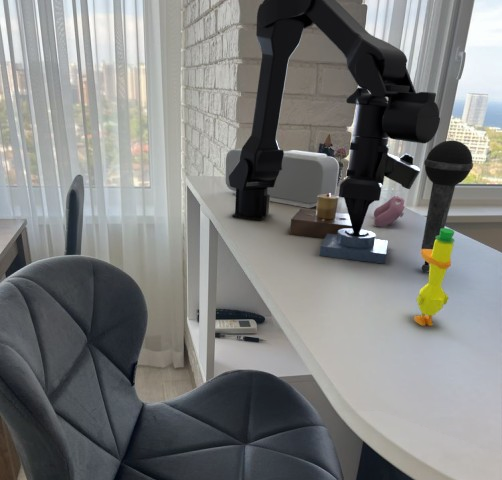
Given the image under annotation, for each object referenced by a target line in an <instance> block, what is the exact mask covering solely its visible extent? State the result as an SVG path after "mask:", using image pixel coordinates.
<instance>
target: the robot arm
mask: <svg viewBox="0 0 502 480" xmlns="http://www.w3.org/2000/svg"><path fill="white" fill-rule="evenodd" d="M256 14H257V15H256V29H255V30H256V32H255V33H256V35H255V36H256V40H257V42H258V46H259V48H260V50H261V61H260V67H259V75H258V83H257V89H256V91H257V92H256V97H255V105H254V111H253V118H252V119H253V120H252V127H251V134H250V136H249V137H248V139H247V140H246V142H245V143H244V145H242V147H241V148H242V150H241V154H240V158H239V163H238V164H237V165H236V167H235V168H234V170H233V171H232V172H231V174H230V175H229V183H230V187H233V188H236V195H235V200H234V201H235V202H234V203H235V206H234V213H232V217H233V218H238V219H248V220H256V221H262V220H264V219H265V217H267V216H268V215H269V213H270V212H269V211H270V210H269V209H270V201H269V198H270V196H269V195H268V194H267V190H268V187H271V188H272V187H274V185H275V181H276V178H277V176H278V174H279V171H280V170H282V159H283V156H284V151H285V150H284V149H280V147H279V145H278V144H279V143H278V141H277V134H278V127H279V121H280V115H281V109H282V103H283V96H284V90H285V83H286V78H287V71H288V66H289V65H288V64H289V61H290V60H289V59H290V58H291V56H292V55H293V54H294V52H295V51H296V49H297V47H298V46H299V45H300V42H301V39H302V35H303V31H304V30H306V29H308V28H310V27H313V26H314V25H315V26H316V27H317V28H318V29H319V31H320V32H322V34H323V35H324V36H325V37H326V38H327V39H328V41H330V42H331V43H332V44H333V45H334V46H335V47H336V48H337V49H338V50H339V51H340V53H341V54H343V57H344V58H345V61H346V68H347V70H348V72H349V73H350V76H351V77H352V79H353V80H354V82H355V83H356V84H357V86H358V87H357V88H356V89H355V91H354V92H353V93H352V94H350V95H349V96H348V97H347V98H346V100H345V103H346V104H349V105H350V104H352V105H356V106H355V115H354V120H353V121H354V123H353V128H352V138H351V142H350V143H349V150H350V152H349V160H348V167H347V169H346V175H345V178H344V179H343V180H342V181H341V183H340V184H339V191H338V198H344V203H345V206H346V210H347V214H349V217H350V221H351V225H352V229H353V232H355V233H359V232H360V230H361V229H362V227H363V224H364V222H365V218H366V216H367V212H368V210H369V207H370V205H371V204H373V203H374V202H377V201H380V199H381V194H382V193H381V192H382V188H383V185H384V182H385V178H387V179H389V180H391V181H393V182H395V183H397V184H399V185H401V187H402V188H404V189H407V190H411V188H412V186H413V184H414V183H415V181H416V180H417V177H418V176H419V174H420V172H421V169H420V167H418V165H414V156H412V155H411V154H409V153H404V154H402V155H401V156H400V157H398V156H396V155H393V154H391V153H389V152H390V151H389V150H390V145H389V139H391V140H395V141H403V142H410V143H417V144H428V143H429V142H430V141H432V140H433V138H434V137H435V136H436V134H437V132H438V129H439V127H440V124H441V117H440V110H439V106H438V104H437V103H436V97H437V93H436V92H431V91H429V92H428V91H420V92H419V91H418V92H416V89H415V87H414V84H413V82H412V79H411V76H410V73H409V71H408V68H407V63H408V58H407V56H406V54H405V52H404V51H403V50H402V49H400V48H398V47H396V46H394V44H391V43H389V42H387V41H385V40H383V39H381V38H378V37H376V36H375V35H372V34H371V33H369V32H368V30H366V29H365V28H364V26H362V25H361V24H360V23H359V22H358V21H357V20H356V19H355V18H354V17H353V16H352V15H351V13H349V12H348V10H346V8H344V7H343V6H342V5H341V4H340V2H338V1H337V0H263V1H262V3H260V4H259V6H258V8H257V13H256Z"/></svg>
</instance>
